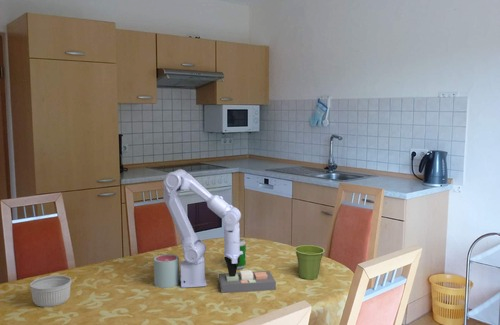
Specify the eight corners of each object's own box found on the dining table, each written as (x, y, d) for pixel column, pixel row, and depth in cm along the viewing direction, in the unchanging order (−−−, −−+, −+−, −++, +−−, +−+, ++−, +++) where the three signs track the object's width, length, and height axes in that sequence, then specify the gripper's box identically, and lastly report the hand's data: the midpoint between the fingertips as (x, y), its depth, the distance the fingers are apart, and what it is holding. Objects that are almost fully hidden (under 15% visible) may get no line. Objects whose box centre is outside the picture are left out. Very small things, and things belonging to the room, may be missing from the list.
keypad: (221, 293, 166) (221, 284, 165) (218, 281, 178) (218, 273, 177) (275, 289, 169) (275, 281, 169) (269, 278, 181) (269, 270, 180)
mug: (174, 288, 170) (173, 262, 169) (150, 286, 172) (149, 261, 171) (186, 275, 183) (186, 251, 182) (164, 274, 185) (164, 250, 184)
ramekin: (60, 290, 168) (59, 272, 168) (79, 299, 160) (78, 280, 159) (23, 301, 158) (22, 282, 157) (42, 312, 150) (41, 292, 149)
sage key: (226, 287, 170) (226, 278, 169) (225, 283, 174) (225, 274, 174) (238, 286, 170) (238, 277, 170) (237, 282, 175) (237, 273, 174)
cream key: (241, 284, 171) (241, 274, 170) (240, 279, 175) (239, 270, 174) (253, 283, 171) (253, 274, 171) (251, 279, 176) (251, 270, 175)
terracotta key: (256, 285, 172) (256, 276, 171) (254, 281, 176) (254, 272, 175) (267, 284, 172) (267, 275, 172) (265, 280, 177) (265, 271, 176)
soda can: (245, 270, 189) (245, 242, 188) (227, 270, 189) (227, 242, 188) (246, 264, 196) (246, 237, 195) (228, 264, 197) (228, 237, 195)
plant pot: (309, 284, 174) (310, 255, 173) (287, 275, 183) (288, 248, 182) (330, 277, 182) (330, 249, 180) (308, 269, 191) (308, 243, 189)
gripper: (245, 245, 164) (245, 282, 165) (239, 235, 178) (240, 268, 180) (226, 246, 163) (226, 283, 164) (221, 236, 177) (222, 269, 179)
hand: (232, 276), depth 172 cm, fingers closed, pressing on sage key
